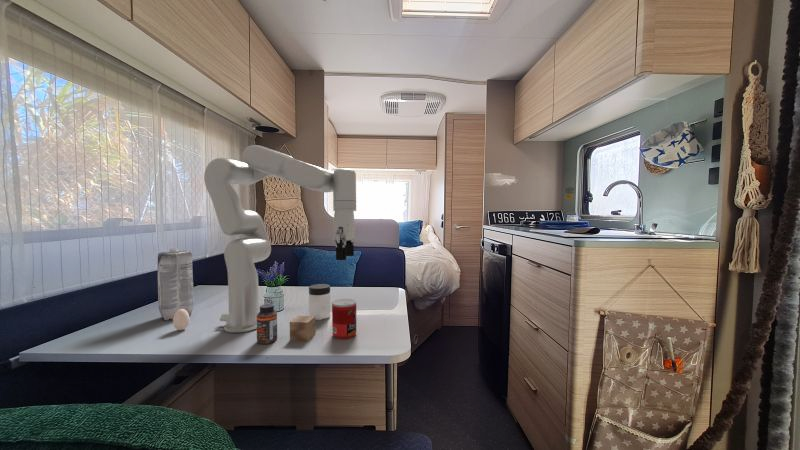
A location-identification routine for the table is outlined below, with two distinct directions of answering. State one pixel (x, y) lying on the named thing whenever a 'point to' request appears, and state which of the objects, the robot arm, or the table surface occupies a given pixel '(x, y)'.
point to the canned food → (344, 318)
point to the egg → (181, 319)
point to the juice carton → (175, 282)
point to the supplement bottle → (266, 324)
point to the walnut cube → (302, 328)
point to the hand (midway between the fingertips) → (345, 257)
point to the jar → (319, 301)
